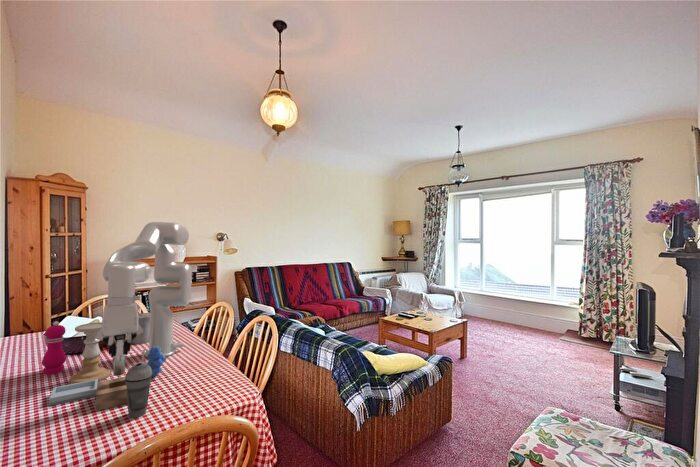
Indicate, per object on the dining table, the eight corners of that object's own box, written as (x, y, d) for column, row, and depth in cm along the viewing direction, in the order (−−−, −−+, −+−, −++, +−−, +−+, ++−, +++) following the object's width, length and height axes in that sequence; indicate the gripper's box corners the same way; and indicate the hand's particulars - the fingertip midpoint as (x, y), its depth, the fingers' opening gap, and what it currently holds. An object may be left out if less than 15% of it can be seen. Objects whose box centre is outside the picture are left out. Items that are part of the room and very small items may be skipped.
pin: (124, 371, 111) (125, 332, 111) (124, 374, 108) (126, 334, 108) (113, 373, 109) (114, 333, 109) (113, 376, 106) (114, 336, 106)
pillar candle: (131, 339, 168) (132, 311, 168) (153, 337, 173) (153, 309, 173) (128, 345, 160) (129, 315, 160) (151, 343, 164) (152, 313, 164)
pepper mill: (50, 376, 123) (53, 324, 123) (36, 374, 125) (38, 322, 125) (70, 369, 130) (72, 319, 131) (56, 367, 132) (58, 318, 132)
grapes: (171, 377, 125) (172, 346, 125) (152, 383, 120) (153, 351, 120) (161, 368, 133) (162, 340, 133) (142, 373, 128) (143, 343, 128)
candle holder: (64, 388, 114) (66, 331, 115) (74, 374, 125) (77, 323, 126) (106, 381, 120) (108, 328, 120) (113, 369, 131) (115, 320, 131)
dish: (97, 385, 117) (98, 379, 117) (96, 396, 109) (97, 388, 109) (53, 394, 109) (53, 387, 109) (49, 406, 102) (49, 398, 102)
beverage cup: (132, 408, 103) (134, 345, 103) (155, 407, 103) (158, 345, 104) (117, 420, 95) (120, 353, 96) (143, 420, 96) (145, 353, 96)
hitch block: (135, 388, 116) (136, 374, 116) (137, 401, 107) (138, 386, 107) (96, 396, 109) (97, 382, 109) (95, 411, 100) (96, 395, 100)
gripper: (148, 296, 116) (147, 346, 116) (90, 301, 107) (89, 355, 107) (150, 300, 110) (148, 353, 110) (89, 305, 101) (87, 363, 101)
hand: (119, 354), depth 109 cm, fingers closed on pin, 3 cm apart
